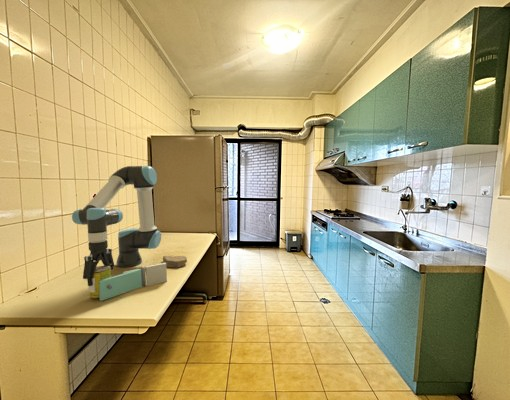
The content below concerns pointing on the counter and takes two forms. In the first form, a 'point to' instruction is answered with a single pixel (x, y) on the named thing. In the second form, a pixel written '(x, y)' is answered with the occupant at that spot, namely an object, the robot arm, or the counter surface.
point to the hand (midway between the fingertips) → (100, 287)
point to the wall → (153, 274)
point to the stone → (174, 261)
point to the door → (119, 284)
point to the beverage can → (100, 278)
